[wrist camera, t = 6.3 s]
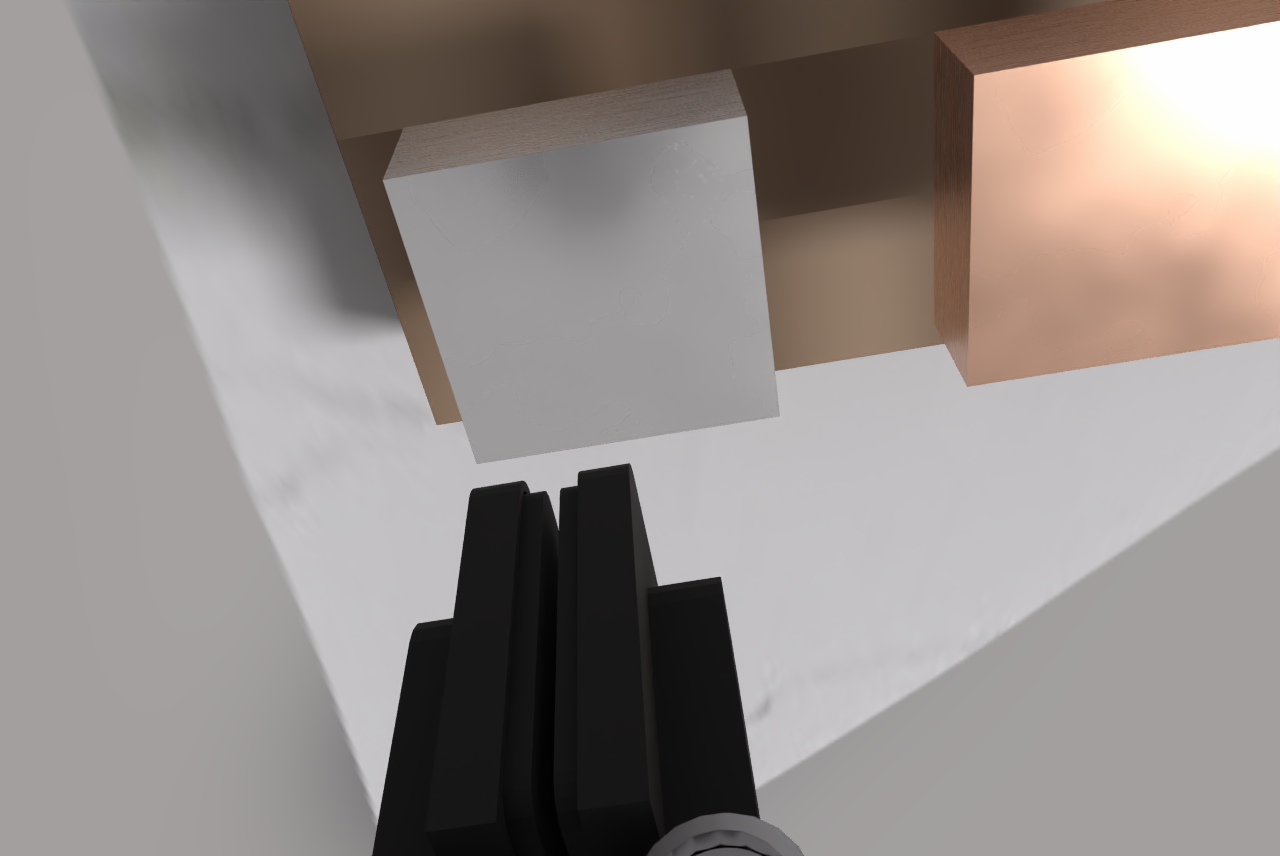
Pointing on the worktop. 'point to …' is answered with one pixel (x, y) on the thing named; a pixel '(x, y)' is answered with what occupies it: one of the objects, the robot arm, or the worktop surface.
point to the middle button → (1106, 184)
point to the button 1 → (591, 265)
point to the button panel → (668, 49)
